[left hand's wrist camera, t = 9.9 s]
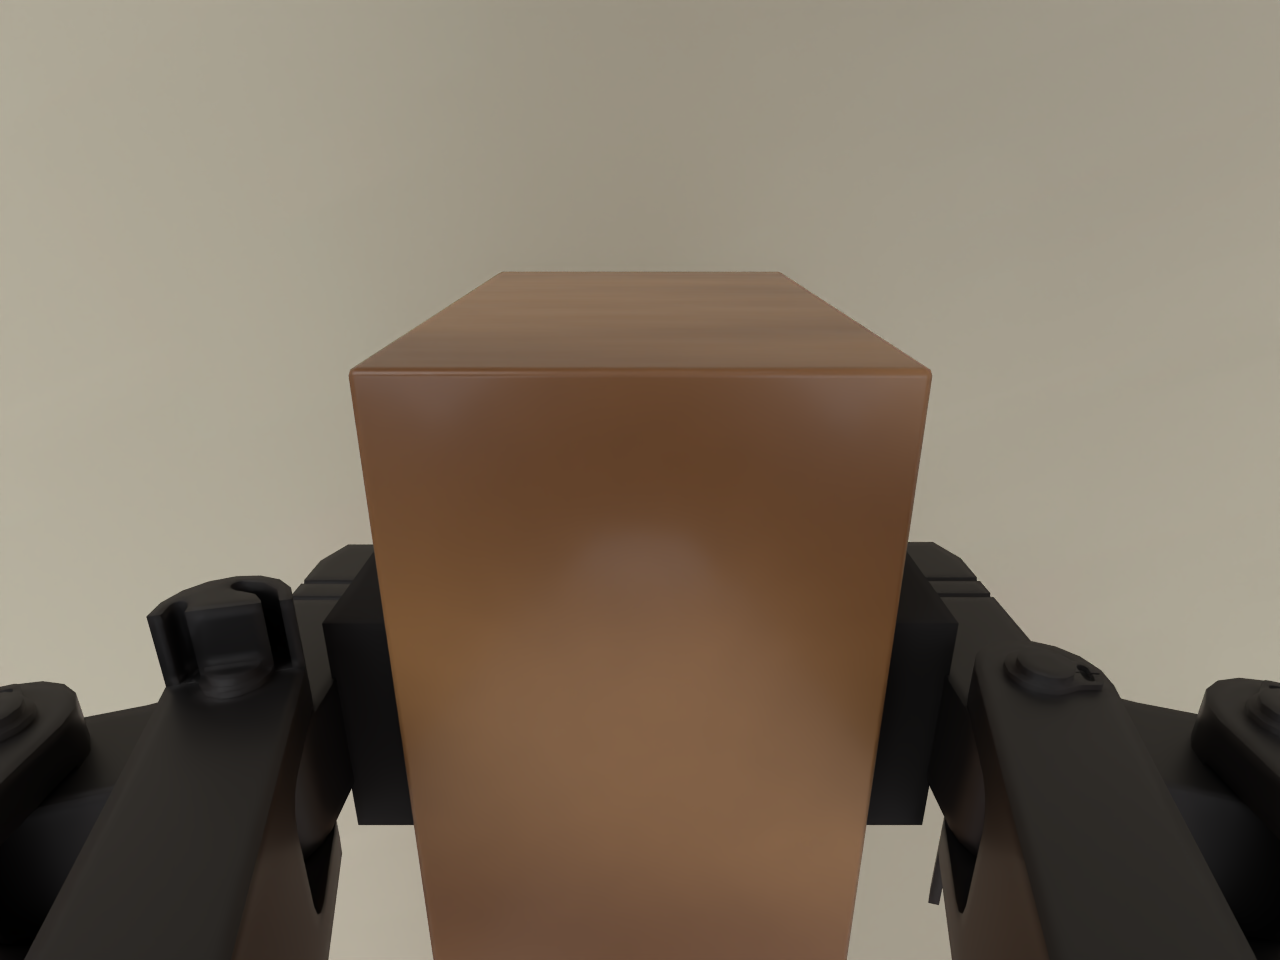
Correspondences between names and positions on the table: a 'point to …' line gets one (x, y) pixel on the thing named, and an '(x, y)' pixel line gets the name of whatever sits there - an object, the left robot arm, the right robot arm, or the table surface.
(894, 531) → the beam
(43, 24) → the table surface
